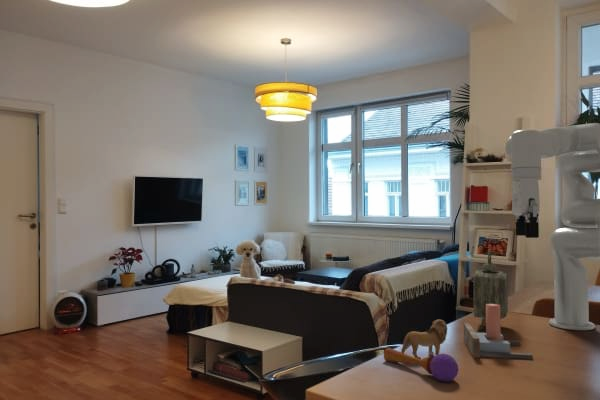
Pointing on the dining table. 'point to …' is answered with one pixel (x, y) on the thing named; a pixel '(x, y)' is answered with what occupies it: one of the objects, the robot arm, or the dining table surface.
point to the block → (493, 344)
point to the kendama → (428, 363)
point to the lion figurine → (426, 338)
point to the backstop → (474, 347)
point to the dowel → (493, 322)
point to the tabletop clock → (489, 290)
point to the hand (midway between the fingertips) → (526, 236)
